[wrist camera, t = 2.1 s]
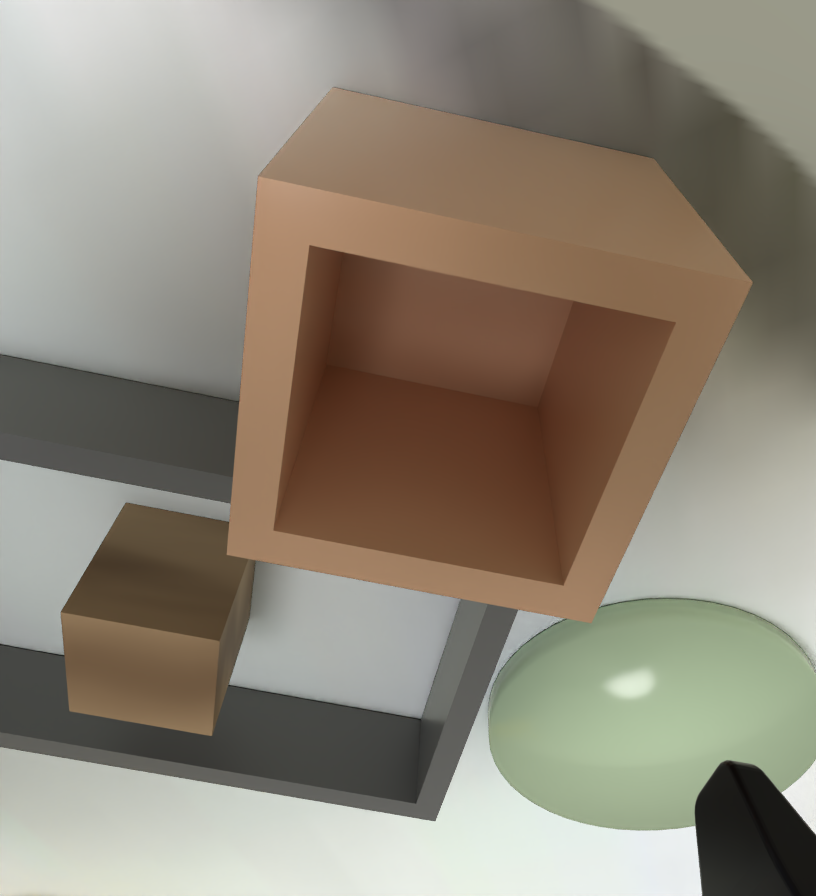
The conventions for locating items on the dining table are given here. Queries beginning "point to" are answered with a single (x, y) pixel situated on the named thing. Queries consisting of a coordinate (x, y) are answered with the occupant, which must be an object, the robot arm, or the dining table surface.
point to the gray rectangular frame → (243, 710)
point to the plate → (650, 711)
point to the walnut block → (157, 621)
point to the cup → (466, 354)
